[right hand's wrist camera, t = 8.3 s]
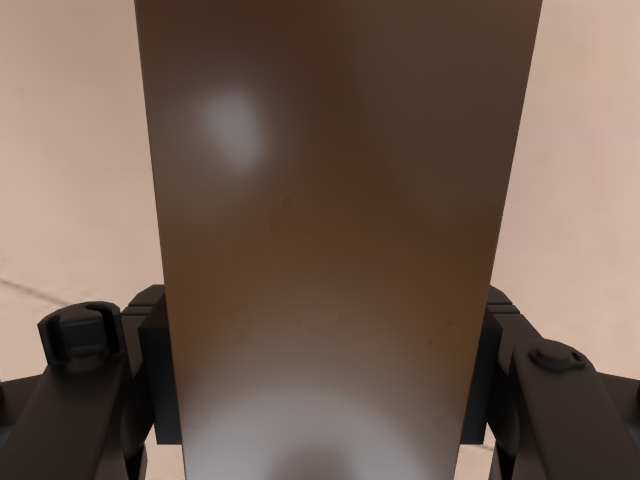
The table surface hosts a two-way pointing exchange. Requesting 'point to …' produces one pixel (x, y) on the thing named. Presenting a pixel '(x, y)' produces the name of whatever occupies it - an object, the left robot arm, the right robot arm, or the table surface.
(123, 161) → the table surface
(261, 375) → the post
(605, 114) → the table surface
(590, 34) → the table surface
